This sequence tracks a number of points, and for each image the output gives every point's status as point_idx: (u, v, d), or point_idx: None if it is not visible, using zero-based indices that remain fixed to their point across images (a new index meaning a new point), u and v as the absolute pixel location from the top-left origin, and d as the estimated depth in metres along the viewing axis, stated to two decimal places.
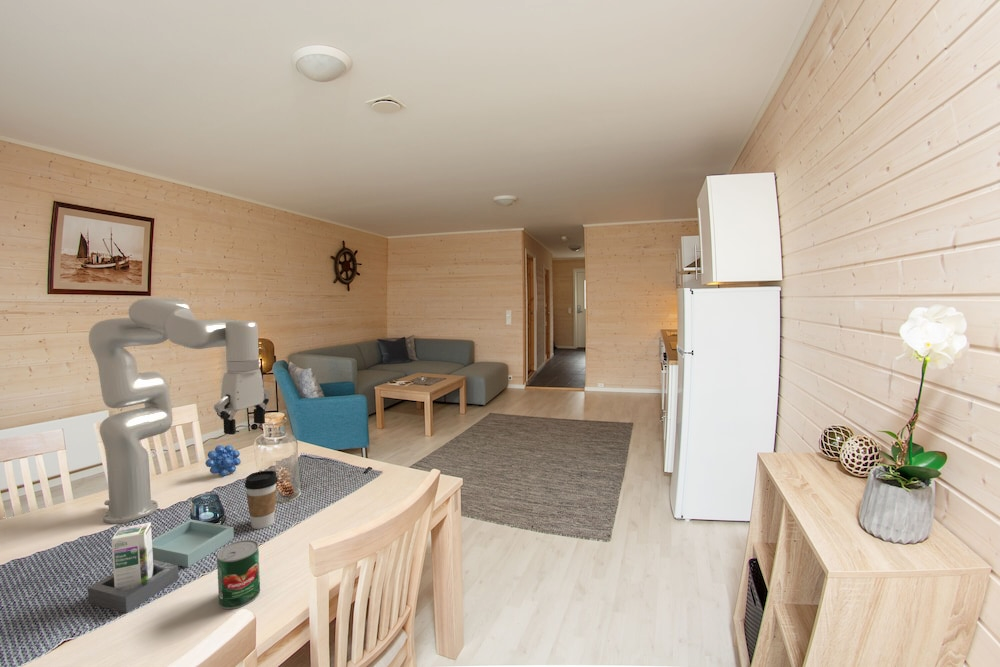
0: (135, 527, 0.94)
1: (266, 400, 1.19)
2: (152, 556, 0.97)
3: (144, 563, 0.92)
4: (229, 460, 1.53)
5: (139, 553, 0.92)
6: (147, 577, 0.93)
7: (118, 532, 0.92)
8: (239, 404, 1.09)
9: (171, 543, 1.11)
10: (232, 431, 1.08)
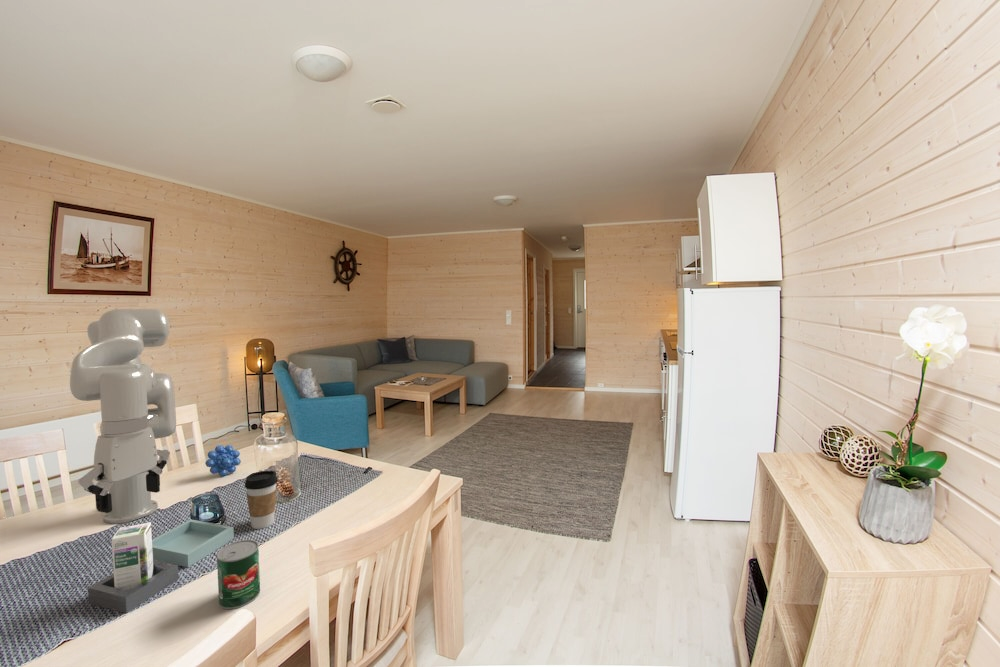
0: (135, 527, 0.94)
1: (163, 462, 0.98)
2: (152, 556, 0.97)
3: (144, 563, 0.92)
4: (229, 460, 1.53)
5: (139, 553, 0.92)
6: (147, 577, 0.93)
7: (118, 532, 0.92)
8: (116, 474, 0.88)
9: (171, 543, 1.11)
10: (107, 509, 0.87)
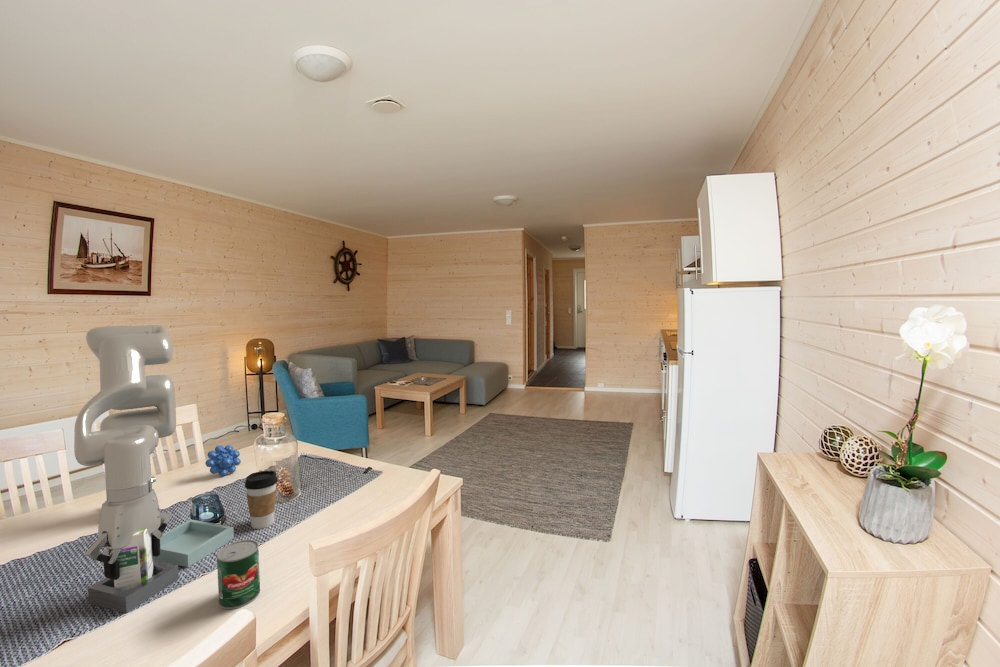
0: None
1: (163, 526, 0.99)
2: (152, 556, 0.97)
3: (143, 563, 0.92)
4: (229, 460, 1.53)
5: (139, 553, 0.92)
6: (147, 577, 0.93)
7: None
8: (120, 542, 0.89)
9: (171, 543, 1.11)
10: (114, 576, 0.89)
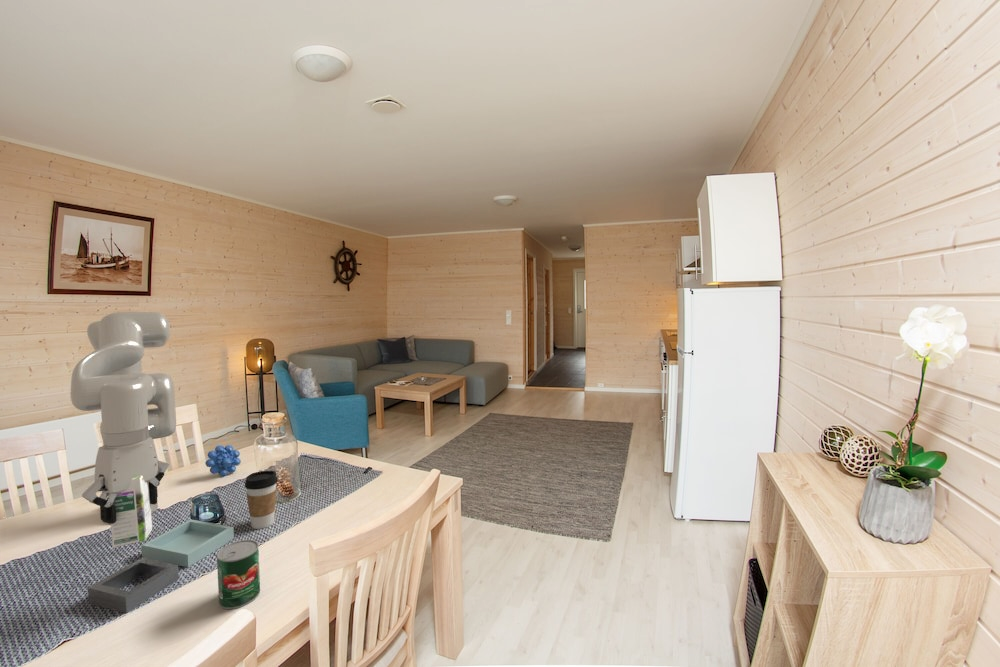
0: None
1: (160, 474, 0.98)
2: None
3: (140, 508, 0.92)
4: (229, 460, 1.53)
5: (135, 498, 0.91)
6: (144, 523, 0.92)
7: None
8: (117, 486, 0.88)
9: (171, 543, 1.11)
10: (111, 520, 0.88)
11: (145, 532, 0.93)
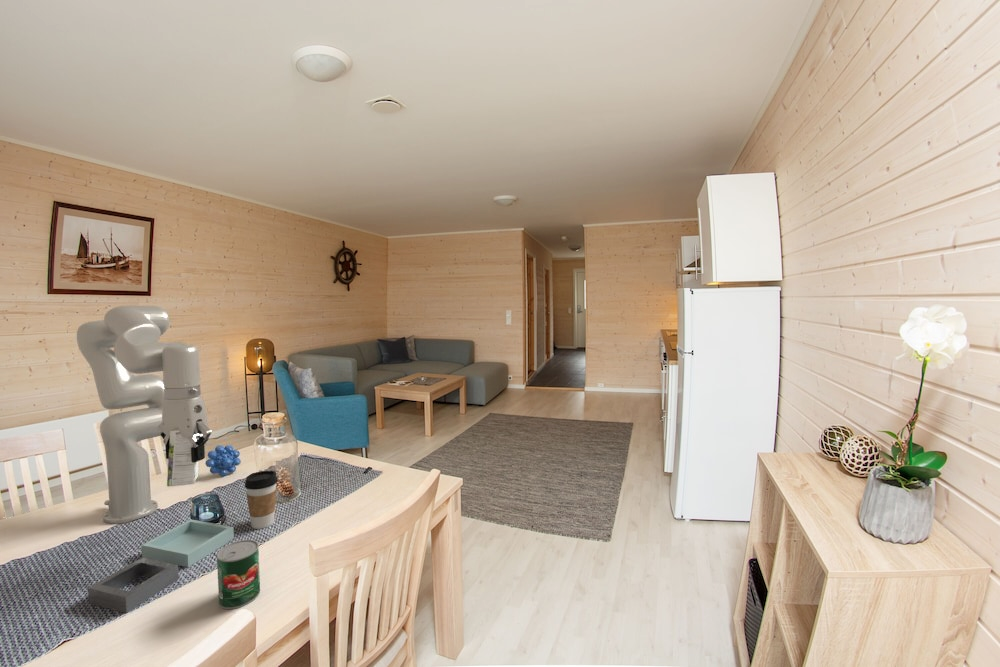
0: None
1: (200, 438, 1.06)
2: None
3: None
4: (229, 460, 1.53)
5: None
6: (170, 472, 1.05)
7: None
8: (165, 429, 1.07)
9: (171, 543, 1.11)
10: None
11: (170, 479, 1.05)
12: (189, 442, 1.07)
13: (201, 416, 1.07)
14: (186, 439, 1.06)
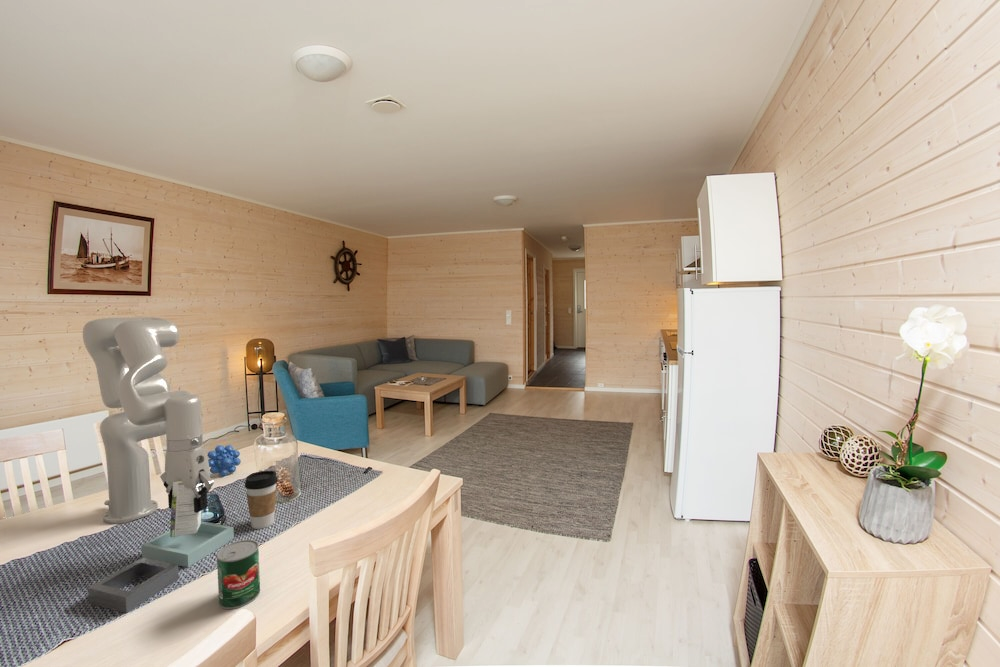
0: None
1: (202, 489, 1.07)
2: None
3: None
4: (229, 460, 1.53)
5: None
6: (173, 522, 1.06)
7: None
8: (167, 479, 1.08)
9: (171, 543, 1.11)
10: None
11: (173, 530, 1.06)
12: (192, 492, 1.08)
13: (203, 466, 1.08)
14: (189, 489, 1.07)
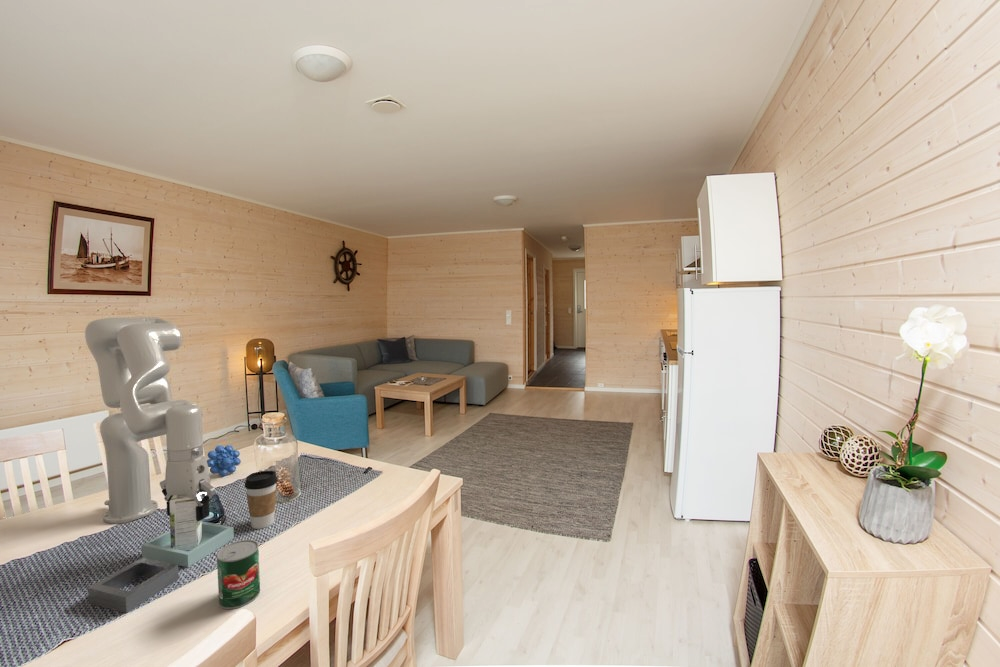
0: None
1: (204, 497, 1.07)
2: (194, 527, 1.08)
3: (170, 525, 1.06)
4: (229, 460, 1.53)
5: None
6: (173, 540, 1.06)
7: None
8: (168, 489, 1.08)
9: None
10: None
11: (173, 547, 1.06)
12: (189, 509, 1.07)
13: (204, 476, 1.09)
14: (186, 507, 1.07)
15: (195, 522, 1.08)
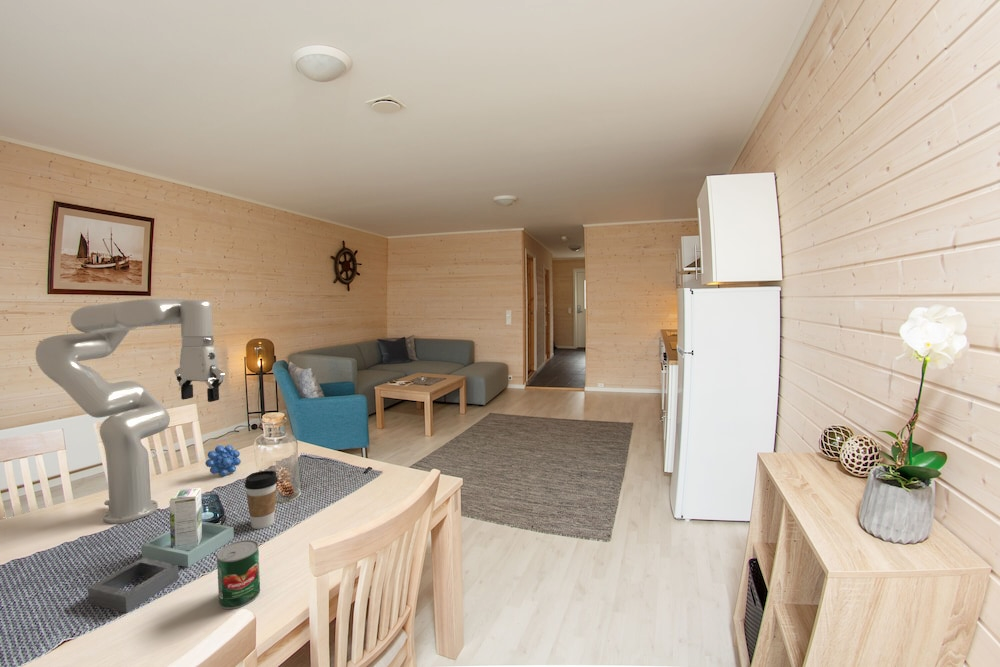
0: (188, 493, 1.09)
1: (215, 380, 1.20)
2: (194, 527, 1.08)
3: (170, 525, 1.06)
4: (229, 460, 1.53)
5: None
6: (173, 539, 1.06)
7: (186, 489, 1.11)
8: (182, 374, 1.21)
9: None
10: None
11: (173, 547, 1.06)
12: (189, 509, 1.07)
13: (214, 363, 1.21)
14: (186, 507, 1.07)
15: (195, 522, 1.08)
